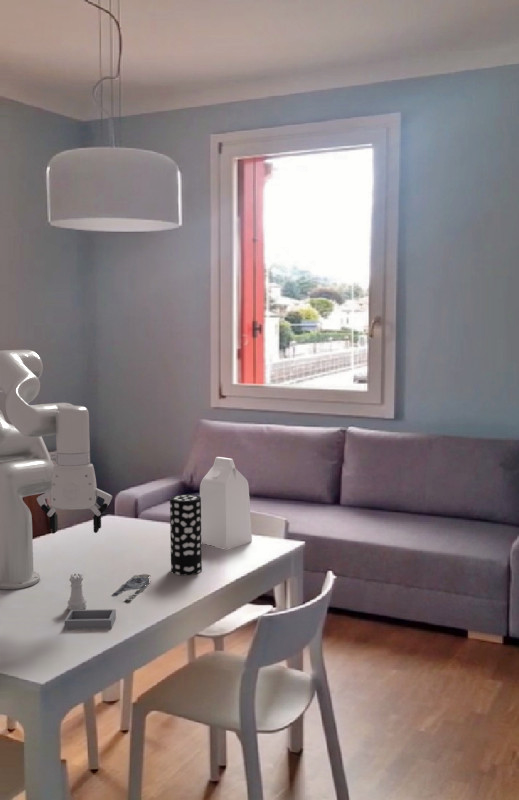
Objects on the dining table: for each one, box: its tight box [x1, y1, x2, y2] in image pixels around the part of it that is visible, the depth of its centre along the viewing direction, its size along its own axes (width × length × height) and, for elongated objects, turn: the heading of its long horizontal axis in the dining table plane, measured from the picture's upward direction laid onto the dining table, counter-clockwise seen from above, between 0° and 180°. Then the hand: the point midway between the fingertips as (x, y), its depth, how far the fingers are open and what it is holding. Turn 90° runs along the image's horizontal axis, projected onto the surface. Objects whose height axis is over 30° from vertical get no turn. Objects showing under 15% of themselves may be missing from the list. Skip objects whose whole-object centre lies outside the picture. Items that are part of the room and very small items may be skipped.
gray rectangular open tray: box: [64, 608, 117, 630], centre depth 181 cm, size 10×7×2 cm, turn 92°
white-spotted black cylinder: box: [169, 494, 203, 576], centre depth 218 cm, size 8×8×20 cm
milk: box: [199, 456, 253, 550], centre depth 246 cm, size 12×12×26 cm
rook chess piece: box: [67, 573, 87, 611], centre depth 190 cm, size 4×4×8 cm
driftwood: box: [110, 573, 151, 602], centre depth 205 cm, size 21×7×2 cm, turn 167°
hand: (75, 531), depth 189 cm, fingers open, 9 cm apart
